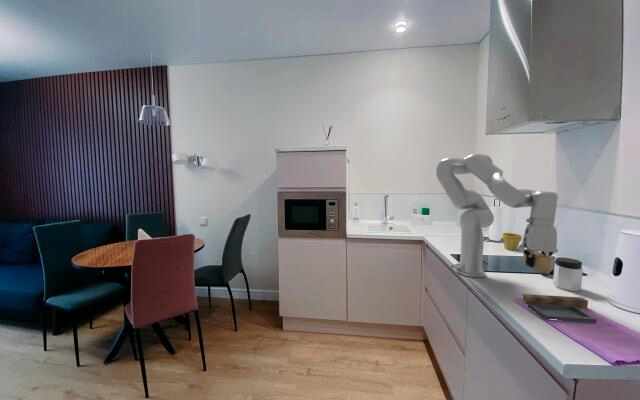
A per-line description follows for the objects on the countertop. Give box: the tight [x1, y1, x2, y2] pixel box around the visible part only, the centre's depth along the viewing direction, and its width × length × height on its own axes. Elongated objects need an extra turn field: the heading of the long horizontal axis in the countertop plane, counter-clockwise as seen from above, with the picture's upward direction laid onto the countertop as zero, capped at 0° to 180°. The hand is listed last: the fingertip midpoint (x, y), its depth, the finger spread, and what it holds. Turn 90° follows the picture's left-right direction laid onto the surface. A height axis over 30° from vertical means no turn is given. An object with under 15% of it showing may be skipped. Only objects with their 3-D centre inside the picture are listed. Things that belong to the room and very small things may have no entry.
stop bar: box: [522, 248, 552, 274], centre depth 107 cm, size 4×10×6 cm, turn 172°
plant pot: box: [501, 232, 523, 251], centre depth 174 cm, size 10×10×10 cm
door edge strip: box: [521, 293, 589, 309], centre depth 97 cm, size 20×2×3 cm, turn 82°
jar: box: [552, 256, 584, 292], centre depth 113 cm, size 9×8×12 cm
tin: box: [539, 255, 556, 276], centre depth 130 cm, size 15×3×8 cm, turn 127°
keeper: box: [527, 303, 598, 324], centre depth 91 cm, size 15×9×2 cm, turn 82°
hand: (535, 265), depth 107 cm, fingers closed on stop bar, 4 cm apart
